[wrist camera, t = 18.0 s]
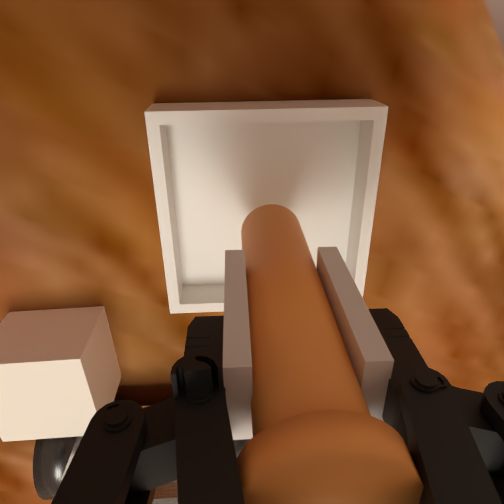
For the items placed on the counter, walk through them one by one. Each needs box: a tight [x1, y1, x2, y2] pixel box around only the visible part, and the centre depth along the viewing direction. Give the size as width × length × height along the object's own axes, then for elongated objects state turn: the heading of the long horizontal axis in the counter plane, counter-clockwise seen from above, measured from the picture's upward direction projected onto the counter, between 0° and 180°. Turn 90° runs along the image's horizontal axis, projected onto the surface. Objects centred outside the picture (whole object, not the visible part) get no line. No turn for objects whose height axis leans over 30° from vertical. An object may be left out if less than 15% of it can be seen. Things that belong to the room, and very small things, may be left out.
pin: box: [237, 204, 424, 504], centre depth 15 cm, size 4×4×14 cm
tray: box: [144, 99, 389, 313], centre depth 23 cm, size 11×11×2 cm
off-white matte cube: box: [0, 306, 122, 442], centre depth 26 cm, size 6×6×5 cm
